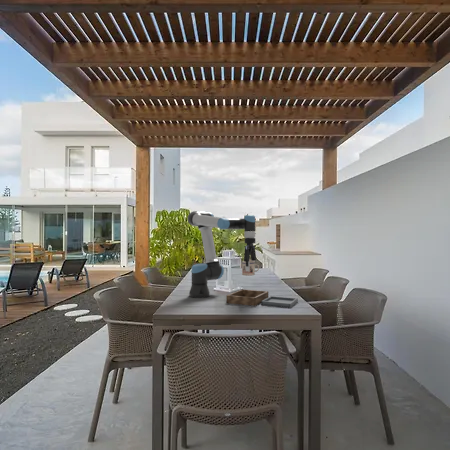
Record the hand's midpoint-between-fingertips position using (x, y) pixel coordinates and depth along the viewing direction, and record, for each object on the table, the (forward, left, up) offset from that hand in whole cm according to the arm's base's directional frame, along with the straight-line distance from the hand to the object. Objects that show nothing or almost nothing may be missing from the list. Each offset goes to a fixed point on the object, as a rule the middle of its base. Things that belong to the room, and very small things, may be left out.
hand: (250, 270), depth 235 cm
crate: (-2, 0, -21) cm, 21 cm away
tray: (+21, 0, -21) cm, 29 cm away
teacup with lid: (0, 0, -3) cm, 3 cm away
